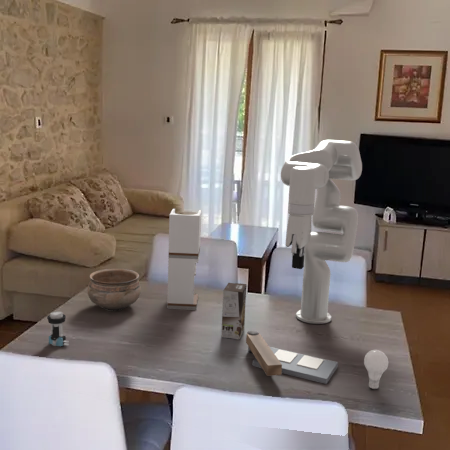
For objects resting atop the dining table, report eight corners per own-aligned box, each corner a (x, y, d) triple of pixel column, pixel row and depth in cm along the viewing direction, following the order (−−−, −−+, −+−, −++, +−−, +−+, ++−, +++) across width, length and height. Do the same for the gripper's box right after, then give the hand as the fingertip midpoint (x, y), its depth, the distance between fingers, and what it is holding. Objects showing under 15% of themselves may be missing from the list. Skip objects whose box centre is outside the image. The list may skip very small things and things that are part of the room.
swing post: (249, 349, 178) (250, 341, 178) (256, 350, 177) (257, 342, 177) (246, 352, 176) (247, 343, 176) (254, 353, 175) (254, 345, 175)
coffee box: (240, 339, 185) (242, 292, 182) (220, 337, 186) (222, 289, 183) (244, 329, 194) (247, 283, 191) (226, 327, 195) (228, 281, 192)
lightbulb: (358, 382, 159) (361, 345, 157) (380, 382, 160) (384, 345, 158) (365, 394, 153) (369, 355, 151) (388, 394, 154) (393, 355, 151)
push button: (73, 343, 177) (72, 312, 175) (63, 350, 172) (62, 318, 170) (54, 339, 179) (54, 309, 177) (44, 346, 174) (43, 315, 172)
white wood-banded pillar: (196, 309, 210) (199, 215, 203) (167, 308, 210) (169, 214, 203) (198, 299, 221) (201, 210, 214) (170, 298, 222) (172, 208, 214)
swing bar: (257, 339, 178) (257, 330, 178) (281, 374, 156) (281, 364, 155) (244, 340, 177) (245, 331, 177) (267, 375, 155) (267, 365, 154)
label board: (267, 350, 178) (267, 345, 177) (337, 367, 169) (338, 361, 168) (252, 365, 167) (252, 359, 167) (326, 383, 158) (326, 377, 158)
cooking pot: (110, 293, 223) (110, 263, 221) (153, 301, 217) (154, 270, 214) (71, 314, 201) (71, 280, 198) (118, 323, 194) (118, 289, 191)
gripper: (297, 202, 178) (293, 259, 182) (280, 212, 165) (277, 272, 169) (320, 205, 175) (316, 263, 179) (305, 215, 161) (301, 277, 166)
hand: (297, 267), depth 174 cm, fingers closed
